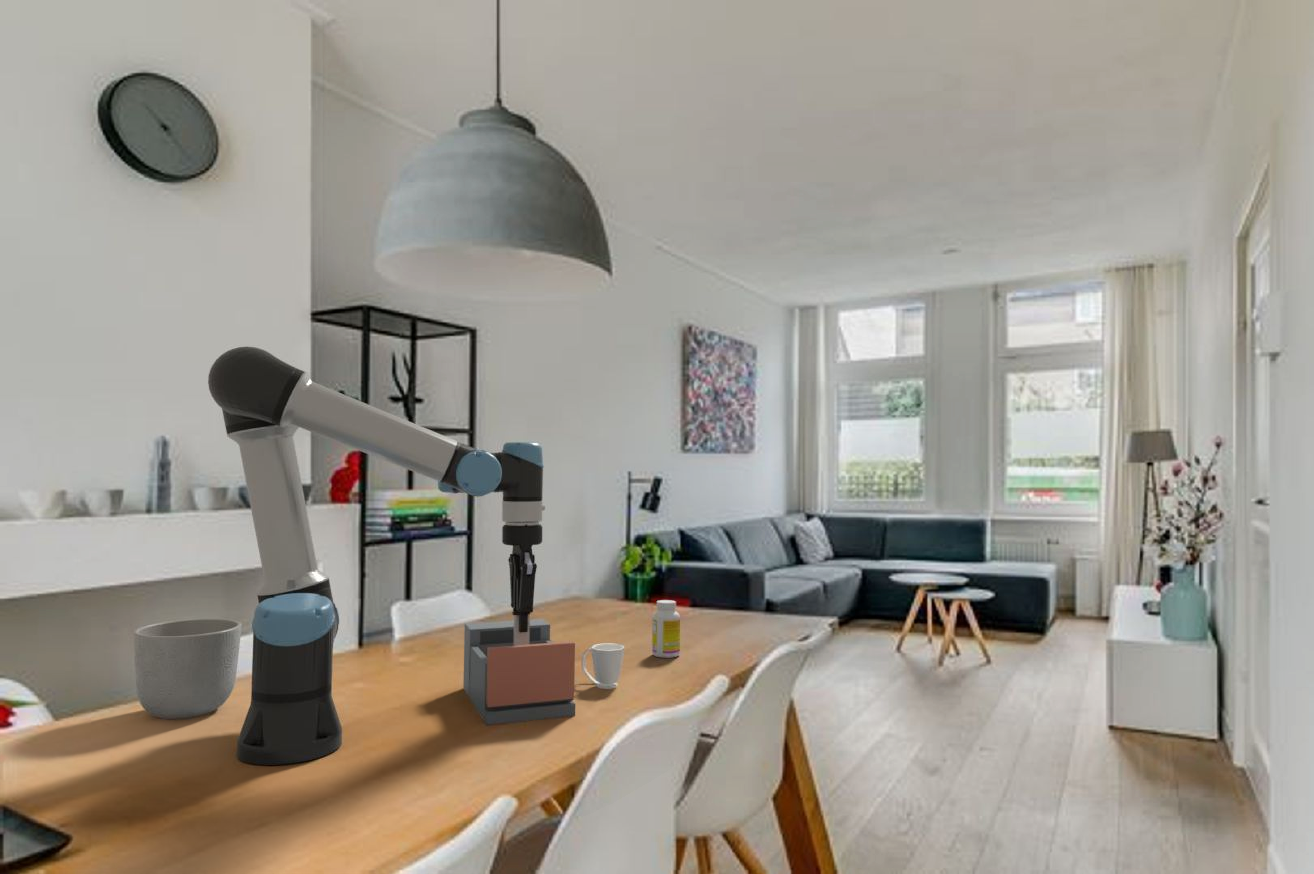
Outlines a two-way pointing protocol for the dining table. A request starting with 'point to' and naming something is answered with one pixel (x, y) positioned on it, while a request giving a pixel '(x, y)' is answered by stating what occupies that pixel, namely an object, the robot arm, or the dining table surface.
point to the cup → (605, 664)
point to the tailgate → (530, 674)
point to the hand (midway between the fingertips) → (521, 648)
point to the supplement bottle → (666, 630)
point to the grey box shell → (497, 637)
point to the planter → (186, 666)
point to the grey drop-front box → (515, 712)
